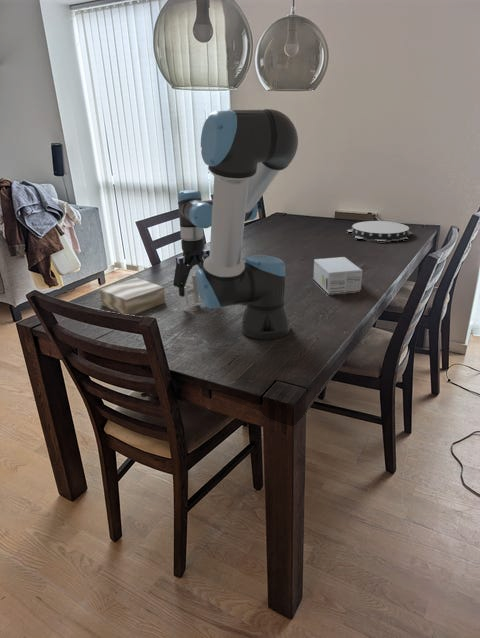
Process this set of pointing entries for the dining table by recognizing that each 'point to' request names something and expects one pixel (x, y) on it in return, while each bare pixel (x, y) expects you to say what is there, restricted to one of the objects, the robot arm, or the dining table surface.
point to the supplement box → (337, 275)
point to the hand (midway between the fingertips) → (196, 300)
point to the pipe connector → (193, 289)
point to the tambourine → (380, 230)
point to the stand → (132, 296)
